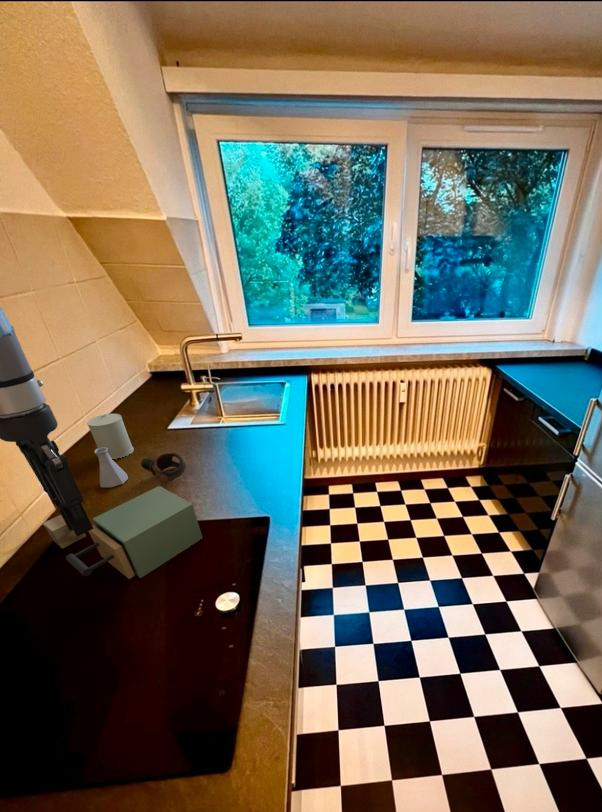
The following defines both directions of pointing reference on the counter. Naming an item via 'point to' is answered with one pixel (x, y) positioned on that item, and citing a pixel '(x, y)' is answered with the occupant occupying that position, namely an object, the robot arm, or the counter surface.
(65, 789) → the counter surface
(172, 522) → the cabinet
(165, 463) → the pottery mug
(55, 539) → the block
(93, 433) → the can
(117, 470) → the flask
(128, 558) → the drawer
